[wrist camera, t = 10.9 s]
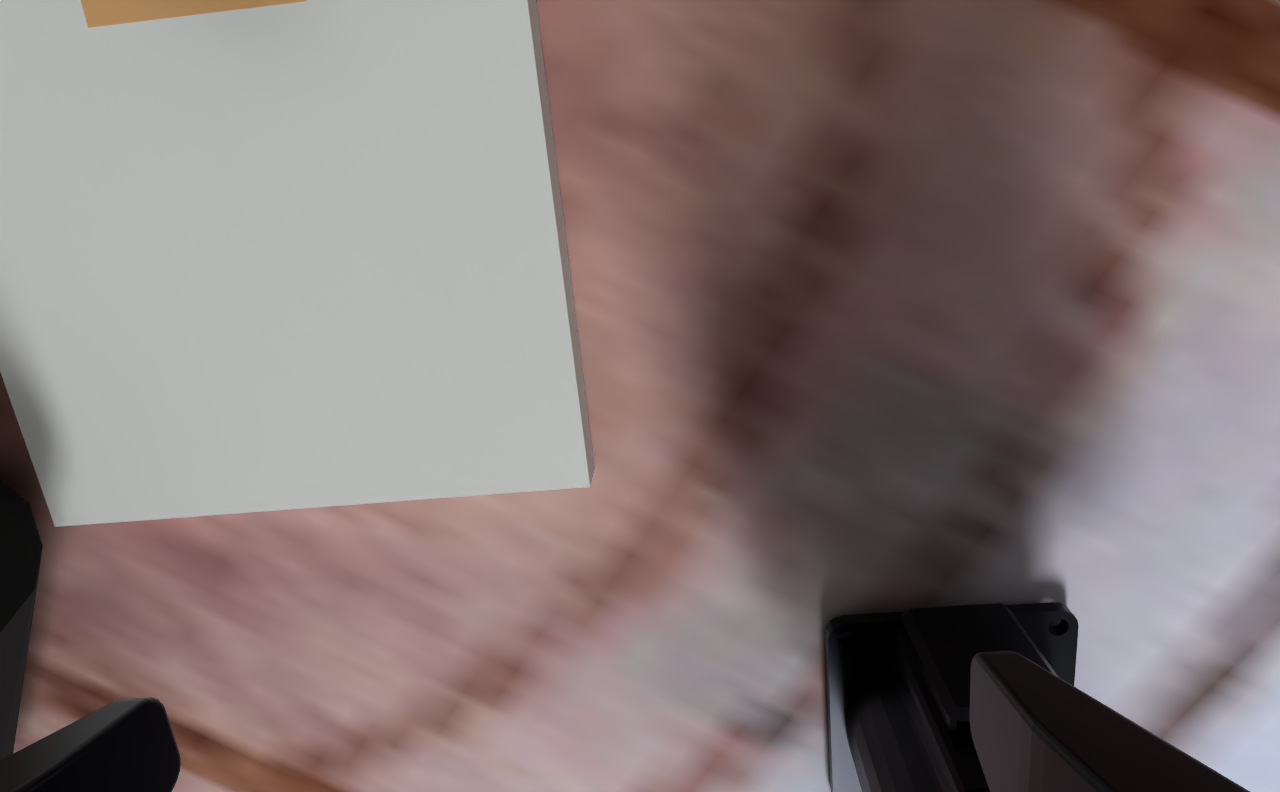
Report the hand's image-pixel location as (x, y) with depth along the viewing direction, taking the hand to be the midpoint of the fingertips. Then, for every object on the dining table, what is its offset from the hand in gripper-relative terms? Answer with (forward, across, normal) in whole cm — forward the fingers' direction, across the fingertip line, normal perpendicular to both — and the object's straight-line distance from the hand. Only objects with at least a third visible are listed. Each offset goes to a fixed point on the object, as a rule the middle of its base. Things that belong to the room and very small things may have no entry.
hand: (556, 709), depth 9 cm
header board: (+12, +8, -9) cm, 17 cm away
